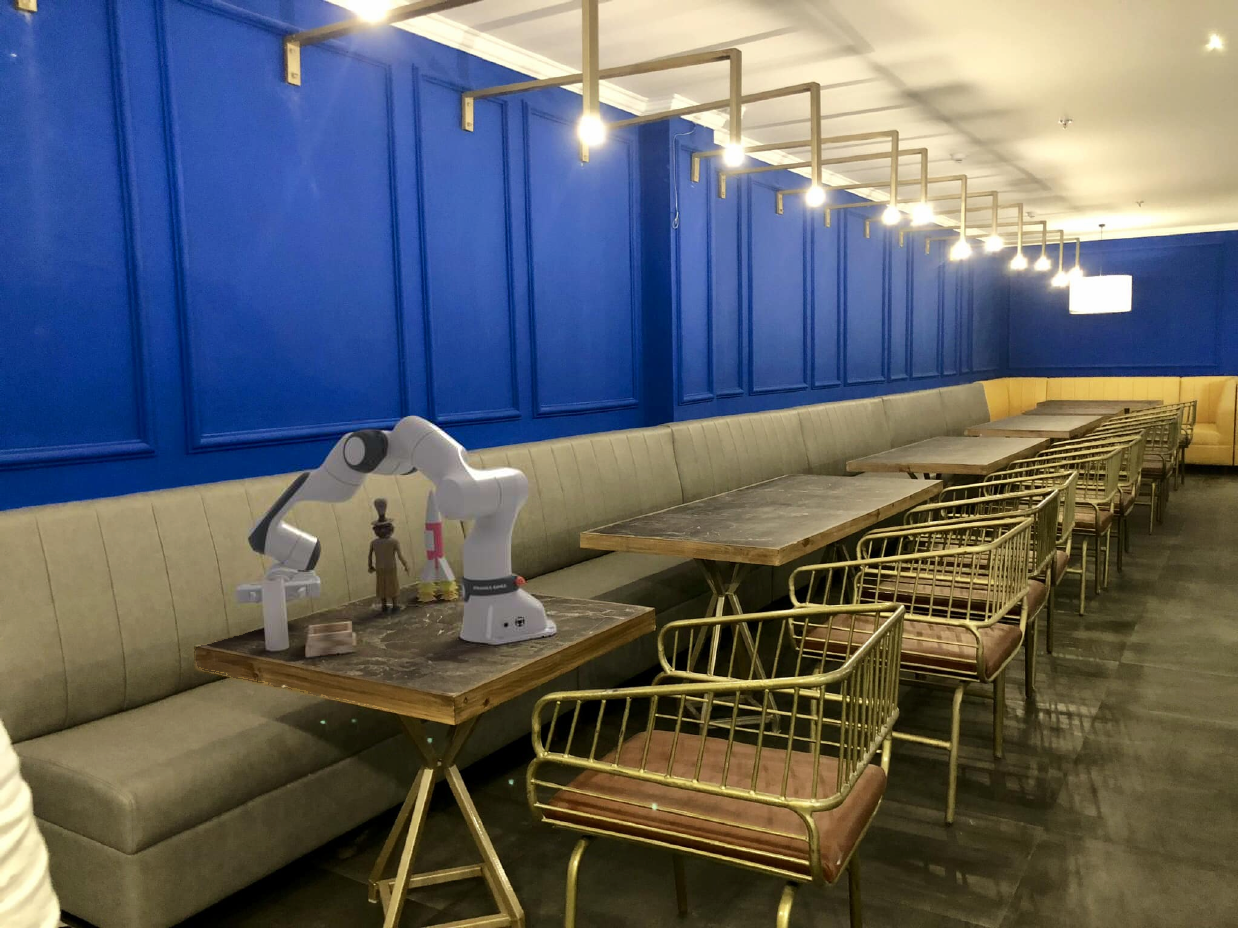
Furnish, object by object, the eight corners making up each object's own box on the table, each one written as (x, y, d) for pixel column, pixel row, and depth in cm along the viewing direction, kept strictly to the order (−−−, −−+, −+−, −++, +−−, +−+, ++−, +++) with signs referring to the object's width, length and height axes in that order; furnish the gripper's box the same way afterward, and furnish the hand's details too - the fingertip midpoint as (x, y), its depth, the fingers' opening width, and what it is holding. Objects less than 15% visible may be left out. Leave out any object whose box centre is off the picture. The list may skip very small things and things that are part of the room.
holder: (355, 638, 233) (354, 620, 233) (356, 651, 223) (355, 631, 222) (307, 644, 230) (305, 625, 230) (305, 657, 220) (304, 637, 219)
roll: (289, 643, 231) (284, 575, 229) (288, 649, 226) (283, 580, 224) (266, 646, 230) (261, 577, 228) (265, 652, 225) (260, 582, 223)
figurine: (417, 605, 263) (411, 494, 260) (405, 615, 254) (398, 499, 251) (377, 606, 265) (370, 494, 261) (364, 615, 255) (356, 500, 252)
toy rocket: (435, 590, 280) (429, 485, 277) (468, 594, 274) (462, 487, 271) (406, 600, 270) (399, 491, 267) (439, 604, 264) (433, 493, 261)
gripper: (235, 577, 249) (230, 588, 235) (320, 569, 254) (320, 580, 241) (237, 601, 249) (232, 614, 236) (322, 593, 255) (321, 605, 242)
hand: (277, 597), depth 239 cm, fingers open, 8 cm apart
